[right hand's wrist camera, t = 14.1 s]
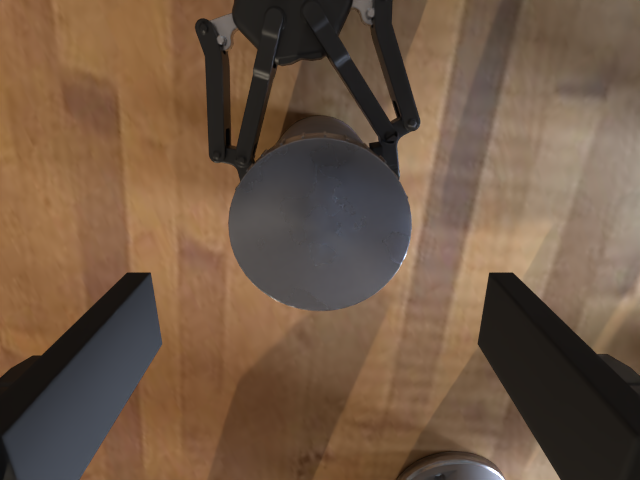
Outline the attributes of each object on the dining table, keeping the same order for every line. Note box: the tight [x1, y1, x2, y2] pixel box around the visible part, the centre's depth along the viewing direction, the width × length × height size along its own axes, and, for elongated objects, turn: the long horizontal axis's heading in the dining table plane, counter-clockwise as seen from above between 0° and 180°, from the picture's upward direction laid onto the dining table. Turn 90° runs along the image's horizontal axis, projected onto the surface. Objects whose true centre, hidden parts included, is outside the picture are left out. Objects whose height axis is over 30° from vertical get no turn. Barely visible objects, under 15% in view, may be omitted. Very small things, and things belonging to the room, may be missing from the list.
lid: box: [229, 131, 412, 311], centre depth 22 cm, size 10×10×2 cm
